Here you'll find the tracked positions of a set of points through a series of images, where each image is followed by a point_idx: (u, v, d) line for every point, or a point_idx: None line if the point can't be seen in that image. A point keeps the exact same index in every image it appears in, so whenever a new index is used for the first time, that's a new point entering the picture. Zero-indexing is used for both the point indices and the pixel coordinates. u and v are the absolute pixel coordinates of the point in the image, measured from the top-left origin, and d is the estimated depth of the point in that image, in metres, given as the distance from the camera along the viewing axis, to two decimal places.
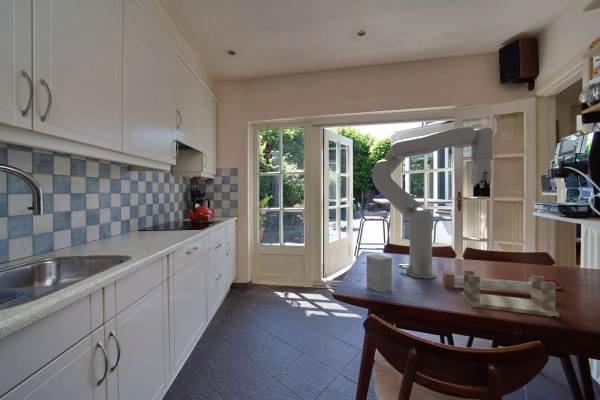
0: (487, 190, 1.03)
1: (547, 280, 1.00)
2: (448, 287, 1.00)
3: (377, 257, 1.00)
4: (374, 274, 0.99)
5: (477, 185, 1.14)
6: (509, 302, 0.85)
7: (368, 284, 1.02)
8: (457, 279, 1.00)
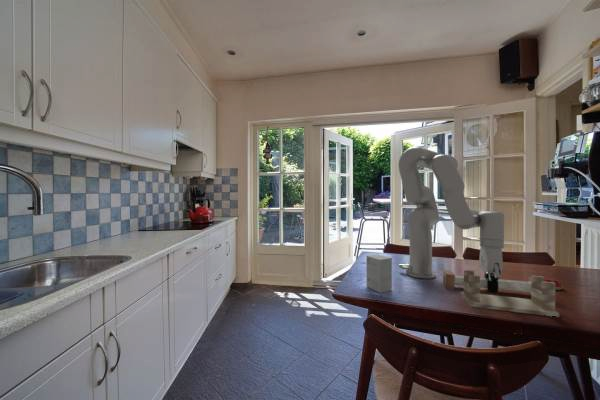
0: (495, 285, 0.95)
1: (549, 281, 1.00)
2: (448, 287, 1.00)
3: (377, 257, 1.00)
4: (374, 274, 0.99)
5: (488, 274, 1.00)
6: (509, 302, 0.85)
7: (368, 284, 1.02)
8: (457, 279, 1.00)
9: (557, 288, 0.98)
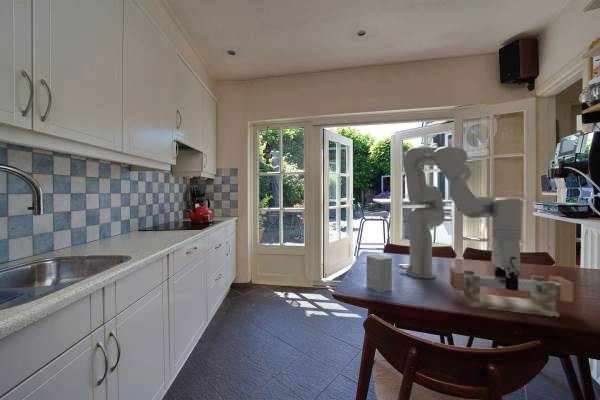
0: (514, 282, 0.80)
1: None
2: (457, 287, 0.88)
3: (377, 257, 1.00)
4: (374, 274, 0.99)
5: None
6: (509, 302, 0.85)
7: (368, 284, 1.02)
8: (467, 278, 0.88)
9: None
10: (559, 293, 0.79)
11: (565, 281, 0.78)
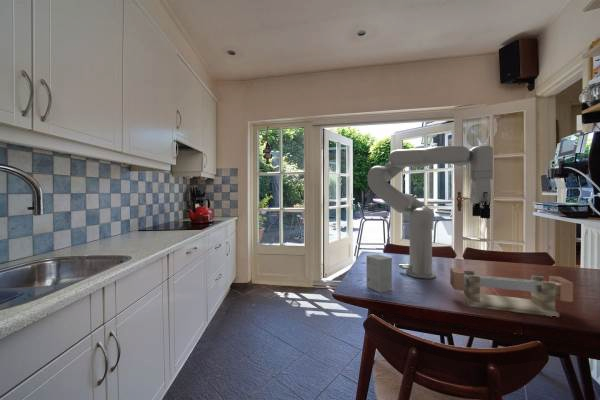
0: (487, 211, 0.98)
1: None
2: (457, 287, 0.88)
3: (377, 257, 1.00)
4: (374, 274, 0.99)
5: (476, 204, 1.09)
6: (509, 302, 0.85)
7: (368, 284, 1.02)
8: (467, 278, 0.88)
9: None
10: (559, 293, 0.79)
11: (565, 281, 0.78)
